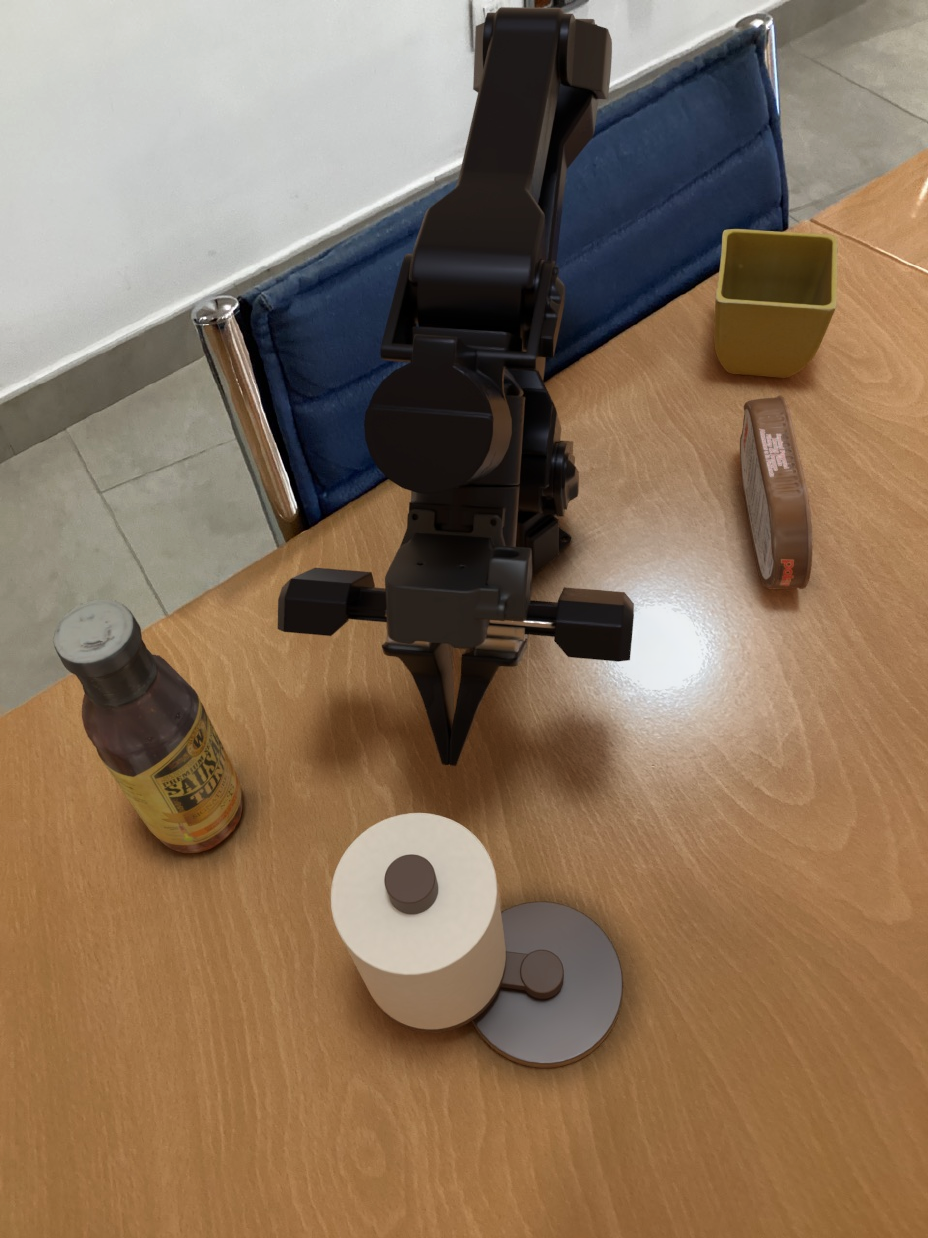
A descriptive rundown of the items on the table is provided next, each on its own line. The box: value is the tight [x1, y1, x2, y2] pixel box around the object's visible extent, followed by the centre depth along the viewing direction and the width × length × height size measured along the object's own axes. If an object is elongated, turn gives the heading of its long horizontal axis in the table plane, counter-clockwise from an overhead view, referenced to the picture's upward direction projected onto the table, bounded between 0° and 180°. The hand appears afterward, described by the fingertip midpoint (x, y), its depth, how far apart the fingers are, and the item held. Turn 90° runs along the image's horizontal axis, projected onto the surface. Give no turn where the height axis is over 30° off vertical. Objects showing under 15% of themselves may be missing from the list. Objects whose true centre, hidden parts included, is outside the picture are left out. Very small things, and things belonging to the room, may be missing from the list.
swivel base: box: [471, 900, 624, 1069], centre depth 60 cm, size 9×9×1 cm
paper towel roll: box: [329, 812, 564, 1033], centre depth 54 cm, size 10×9×13 cm
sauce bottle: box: [52, 598, 244, 854], centre depth 60 cm, size 7×6×20 cm
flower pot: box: [713, 228, 839, 379], centre depth 84 cm, size 9×9×9 cm
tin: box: [739, 395, 814, 590], centre depth 74 cm, size 15×3×8 cm, turn 179°
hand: (450, 763), depth 59 cm, fingers closed
